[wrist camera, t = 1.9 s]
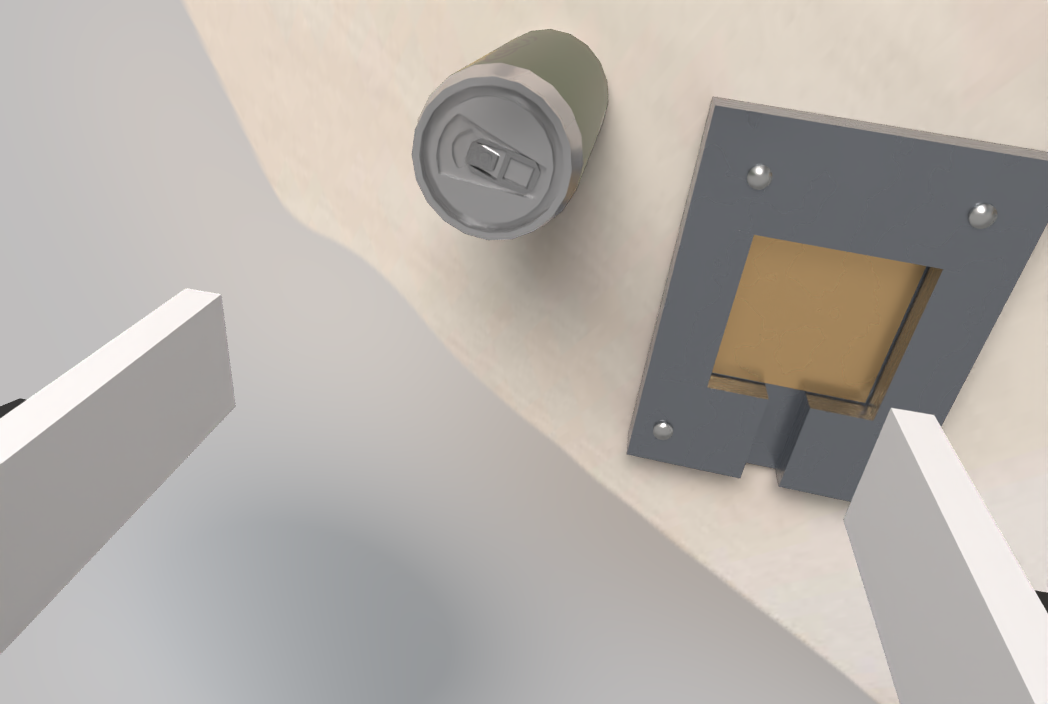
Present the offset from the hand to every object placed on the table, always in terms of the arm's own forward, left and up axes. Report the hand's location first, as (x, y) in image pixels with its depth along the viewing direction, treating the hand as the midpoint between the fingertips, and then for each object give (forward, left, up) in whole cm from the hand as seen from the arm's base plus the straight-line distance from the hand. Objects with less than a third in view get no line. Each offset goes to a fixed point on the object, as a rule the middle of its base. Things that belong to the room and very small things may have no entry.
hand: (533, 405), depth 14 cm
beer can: (-2, -3, -22) cm, 22 cm away
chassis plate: (+6, +11, -21) cm, 25 cm away
